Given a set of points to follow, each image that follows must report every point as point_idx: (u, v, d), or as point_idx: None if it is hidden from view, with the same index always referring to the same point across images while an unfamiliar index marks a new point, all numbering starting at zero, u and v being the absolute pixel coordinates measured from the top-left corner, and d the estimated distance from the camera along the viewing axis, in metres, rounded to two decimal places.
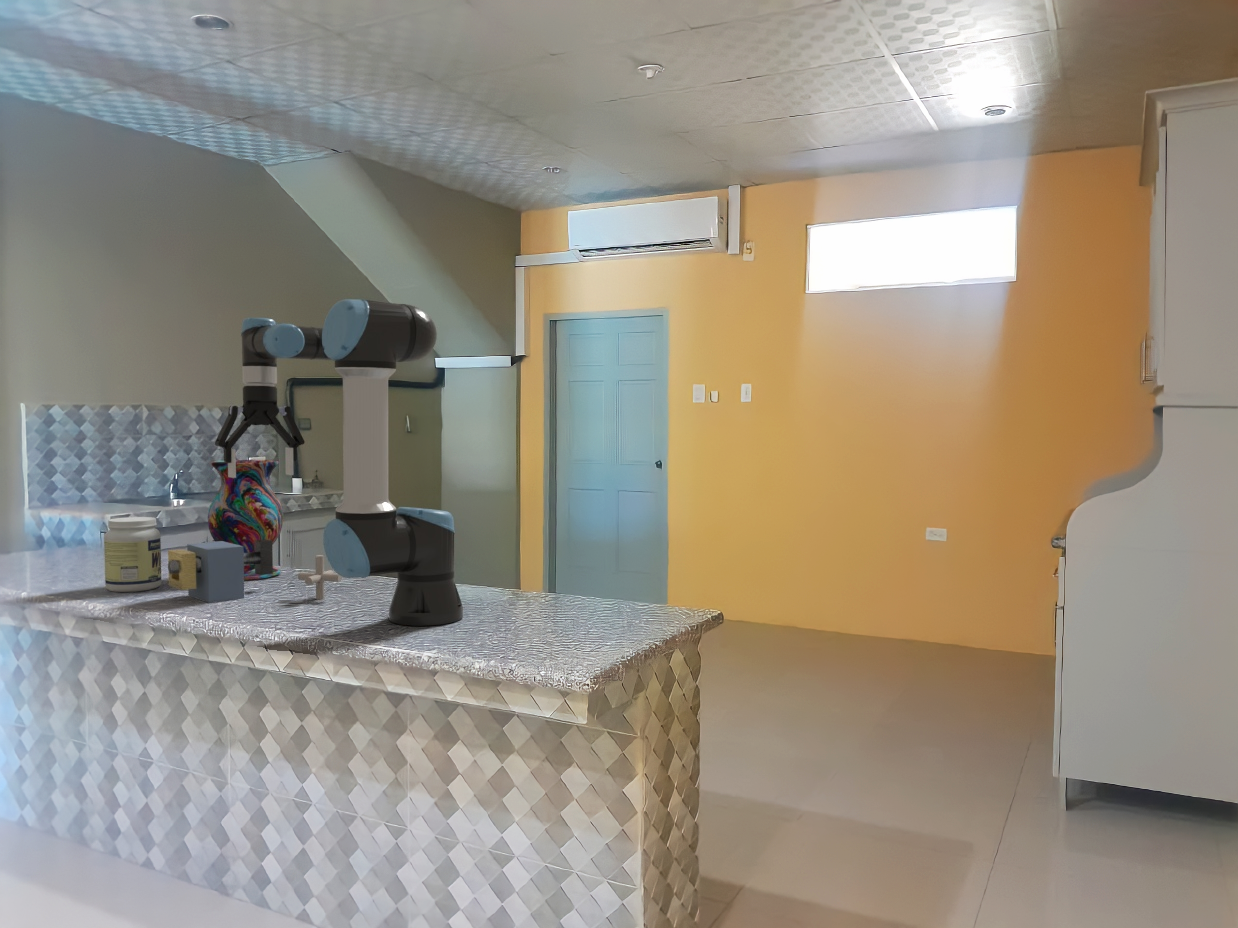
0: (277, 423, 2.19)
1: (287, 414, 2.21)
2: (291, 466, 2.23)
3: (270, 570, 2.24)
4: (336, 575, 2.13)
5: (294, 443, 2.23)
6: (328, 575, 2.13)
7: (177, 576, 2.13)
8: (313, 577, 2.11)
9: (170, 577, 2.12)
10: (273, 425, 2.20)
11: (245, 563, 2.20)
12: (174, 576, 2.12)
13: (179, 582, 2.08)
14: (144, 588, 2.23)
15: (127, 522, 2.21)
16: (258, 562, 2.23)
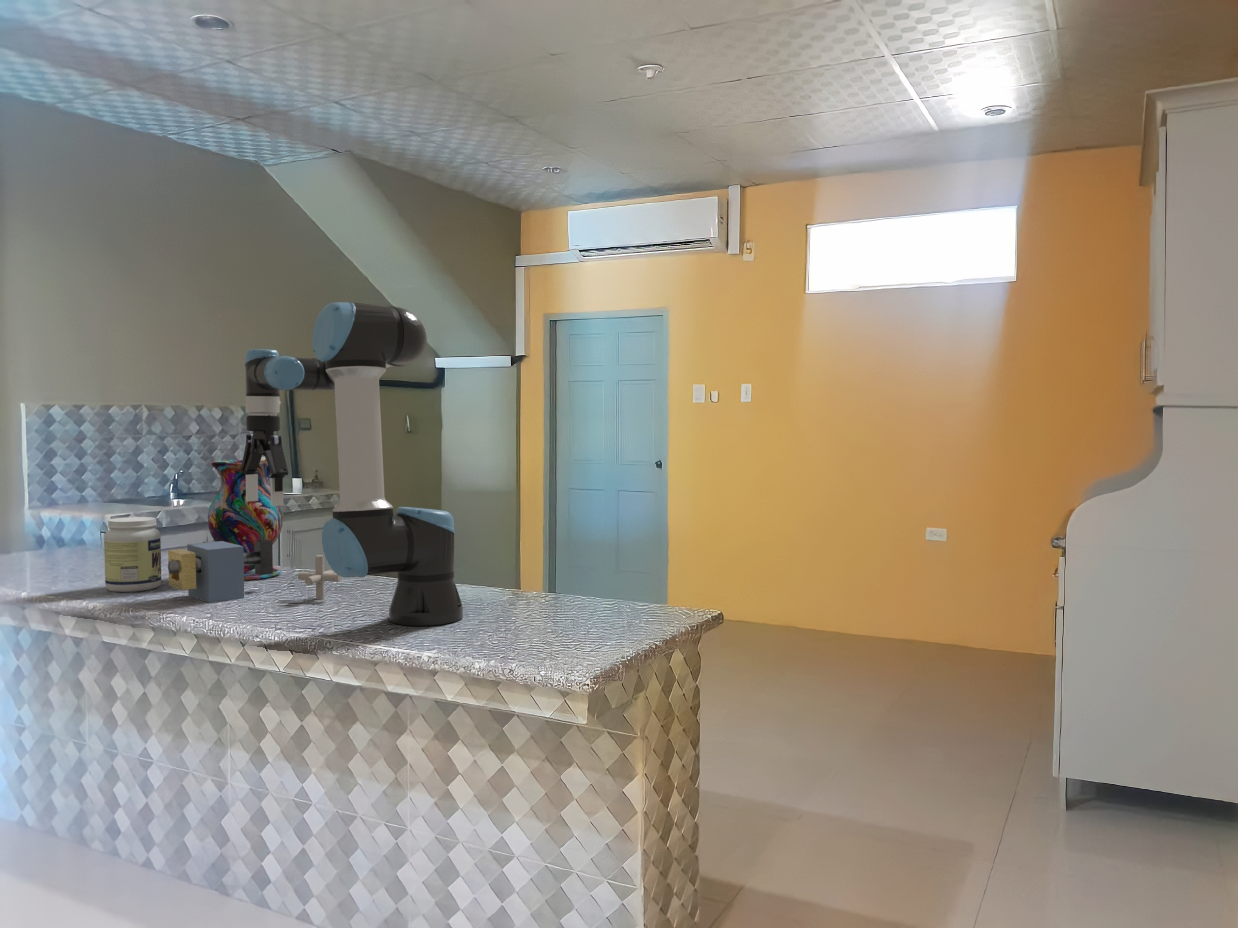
0: (262, 452, 2.20)
1: (270, 444, 2.18)
2: (271, 497, 2.18)
3: (270, 570, 2.24)
4: (336, 575, 2.13)
5: (273, 473, 2.17)
6: (328, 575, 2.13)
7: (177, 576, 2.13)
8: (313, 577, 2.11)
9: (170, 577, 2.12)
10: None
11: (245, 563, 2.20)
12: (174, 576, 2.12)
13: (179, 582, 2.08)
14: (144, 588, 2.23)
15: (127, 522, 2.21)
16: (258, 562, 2.23)
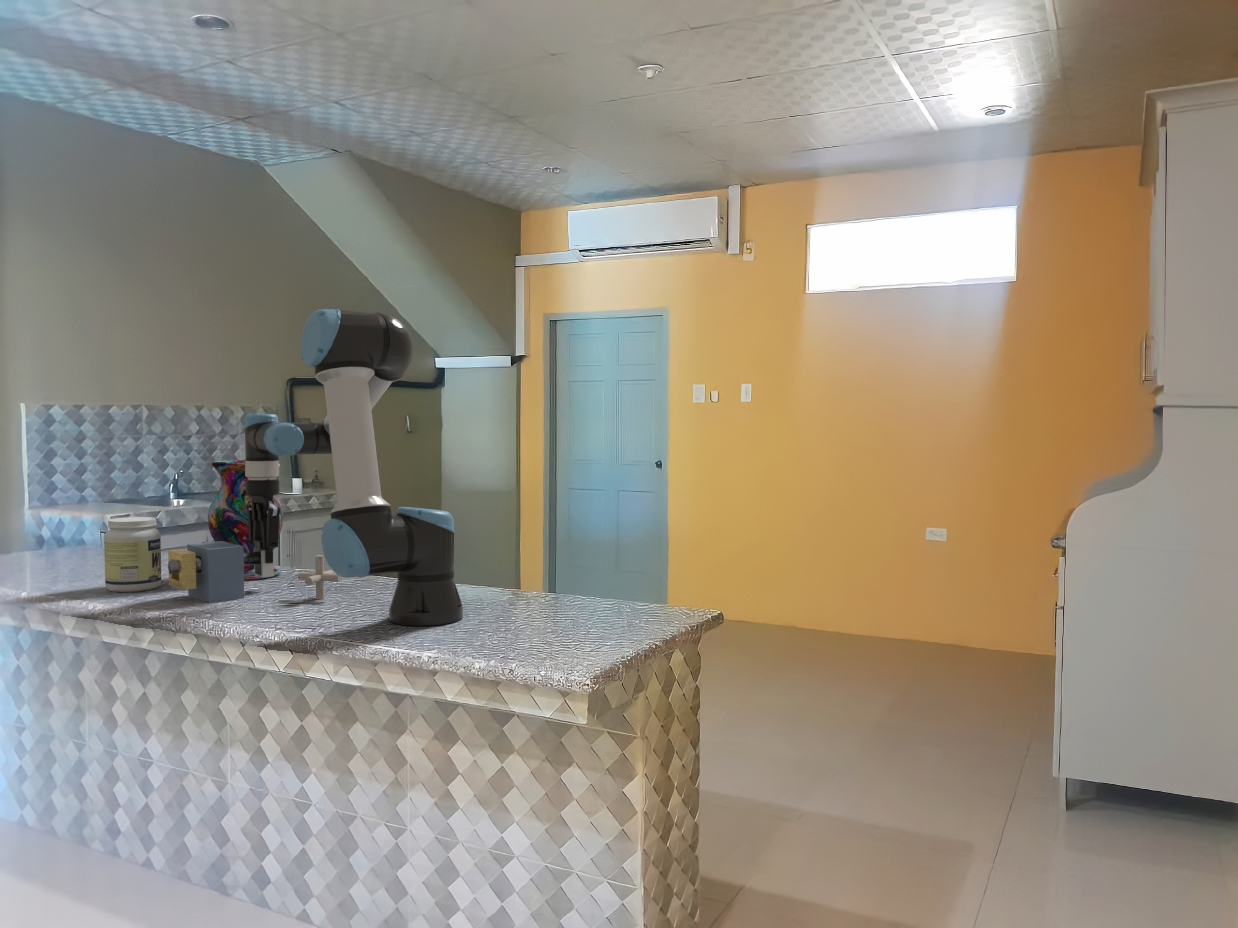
0: (259, 519, 2.22)
1: (267, 514, 2.20)
2: (261, 568, 2.23)
3: None
4: (336, 575, 2.13)
5: (263, 546, 2.22)
6: (328, 575, 2.13)
7: (177, 576, 2.13)
8: (313, 577, 2.11)
9: (170, 577, 2.12)
10: None
11: (245, 563, 2.20)
12: (174, 576, 2.12)
13: (179, 582, 2.08)
14: (144, 588, 2.23)
15: (127, 522, 2.21)
16: (258, 562, 2.23)
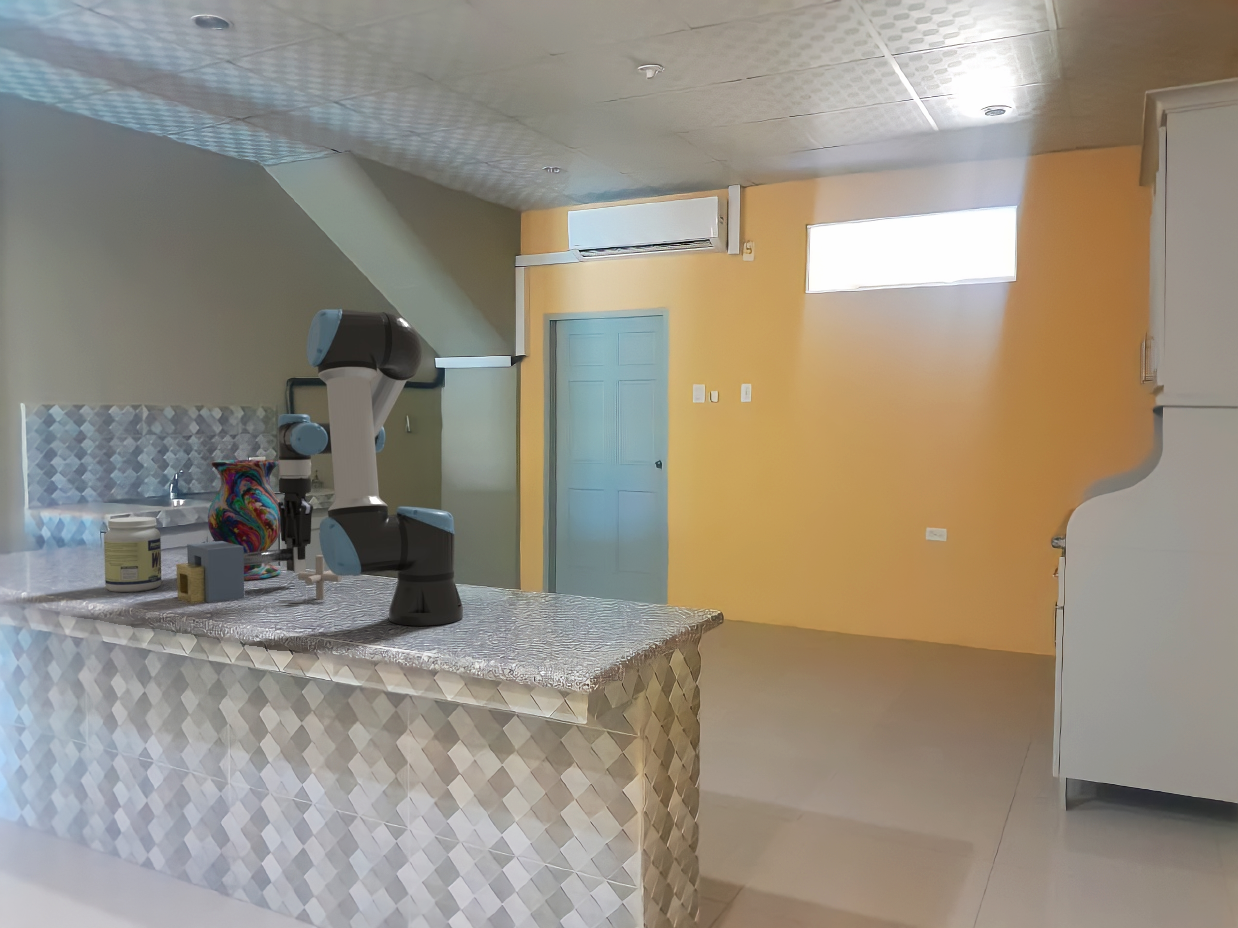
0: (292, 516, 2.27)
1: (300, 511, 2.25)
2: (294, 564, 2.28)
3: None
4: (336, 575, 2.13)
5: (296, 542, 2.27)
6: (328, 575, 2.13)
7: (186, 590, 2.14)
8: (313, 577, 2.11)
9: (179, 591, 2.14)
10: None
11: (278, 559, 2.26)
12: (183, 590, 2.14)
13: (188, 596, 2.10)
14: (144, 588, 2.23)
15: (127, 522, 2.21)
16: (290, 558, 2.28)
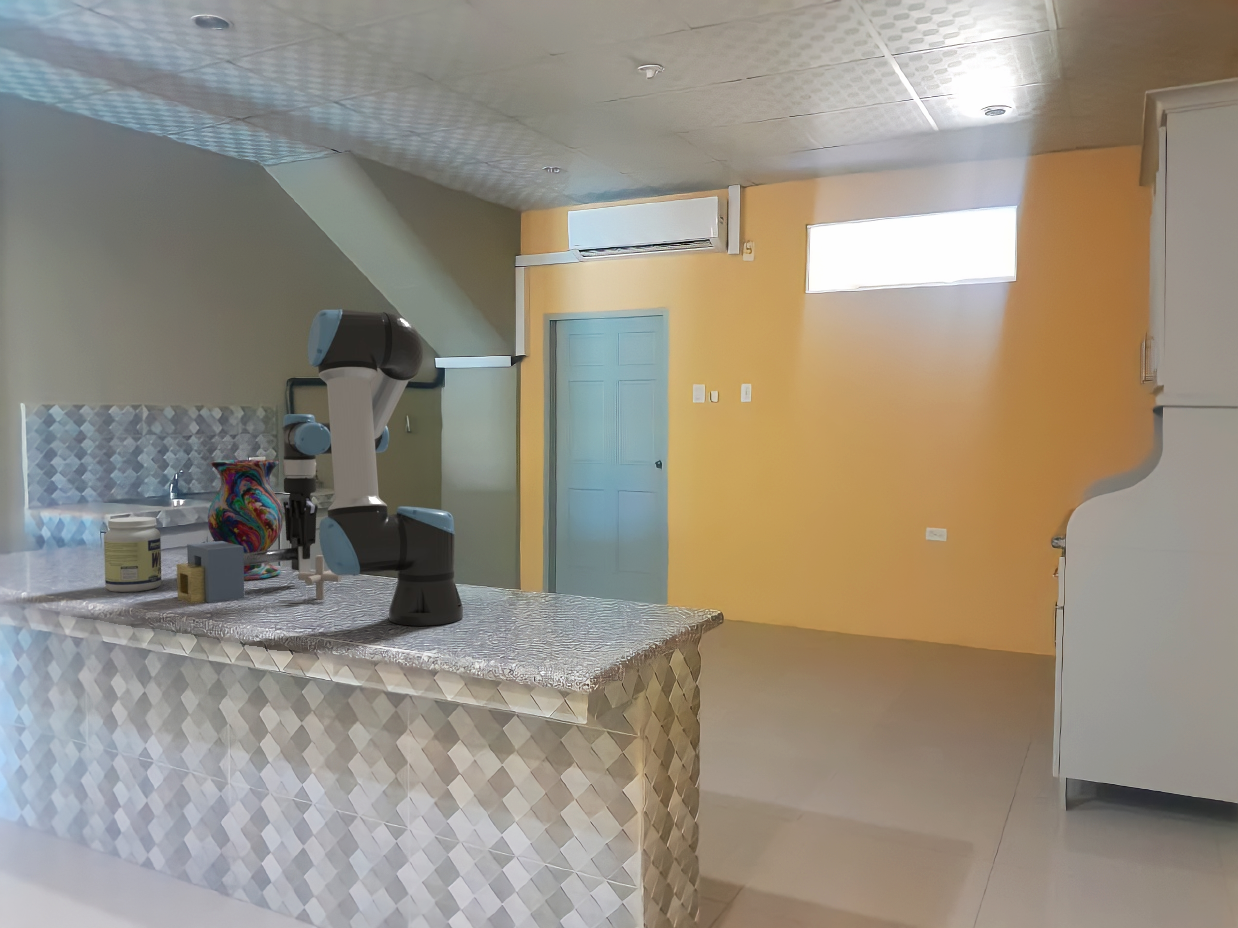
0: (297, 516, 2.28)
1: (305, 511, 2.26)
2: (299, 564, 2.29)
3: None
4: (336, 575, 2.13)
5: (301, 542, 2.28)
6: (328, 575, 2.13)
7: (186, 590, 2.14)
8: (313, 577, 2.11)
9: (179, 591, 2.14)
10: None
11: (283, 559, 2.27)
12: (183, 590, 2.14)
13: (188, 596, 2.10)
14: (144, 588, 2.23)
15: (127, 522, 2.21)
16: (295, 558, 2.29)
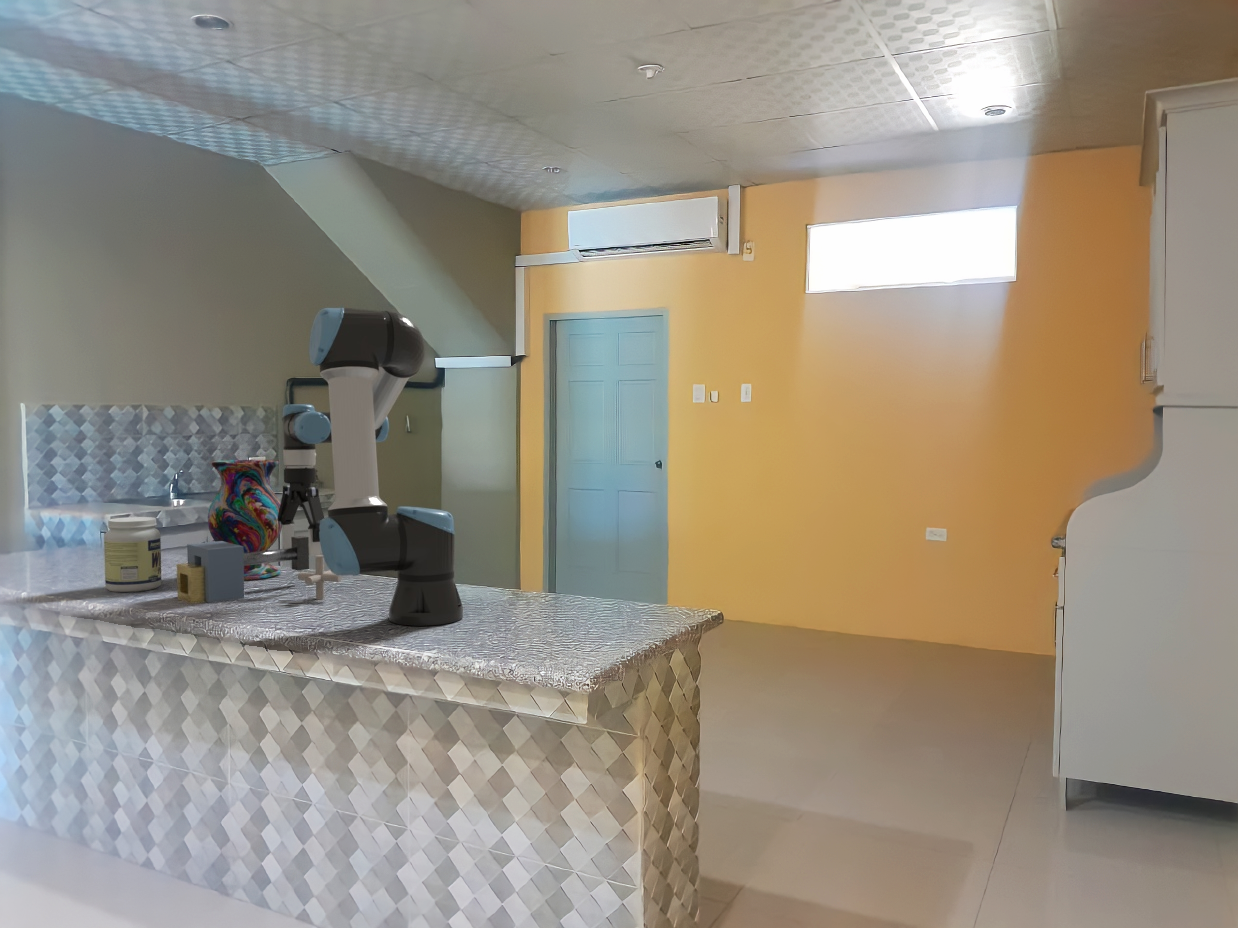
0: (300, 504, 2.27)
1: (307, 495, 2.25)
2: (309, 547, 2.25)
3: (306, 566, 2.31)
4: (336, 575, 2.13)
5: (311, 524, 2.24)
6: (328, 575, 2.13)
7: (186, 590, 2.14)
8: (313, 577, 2.11)
9: (179, 591, 2.14)
10: None
11: (283, 559, 2.27)
12: (183, 590, 2.14)
13: (188, 596, 2.10)
14: (144, 588, 2.23)
15: (127, 522, 2.21)
16: (295, 558, 2.29)
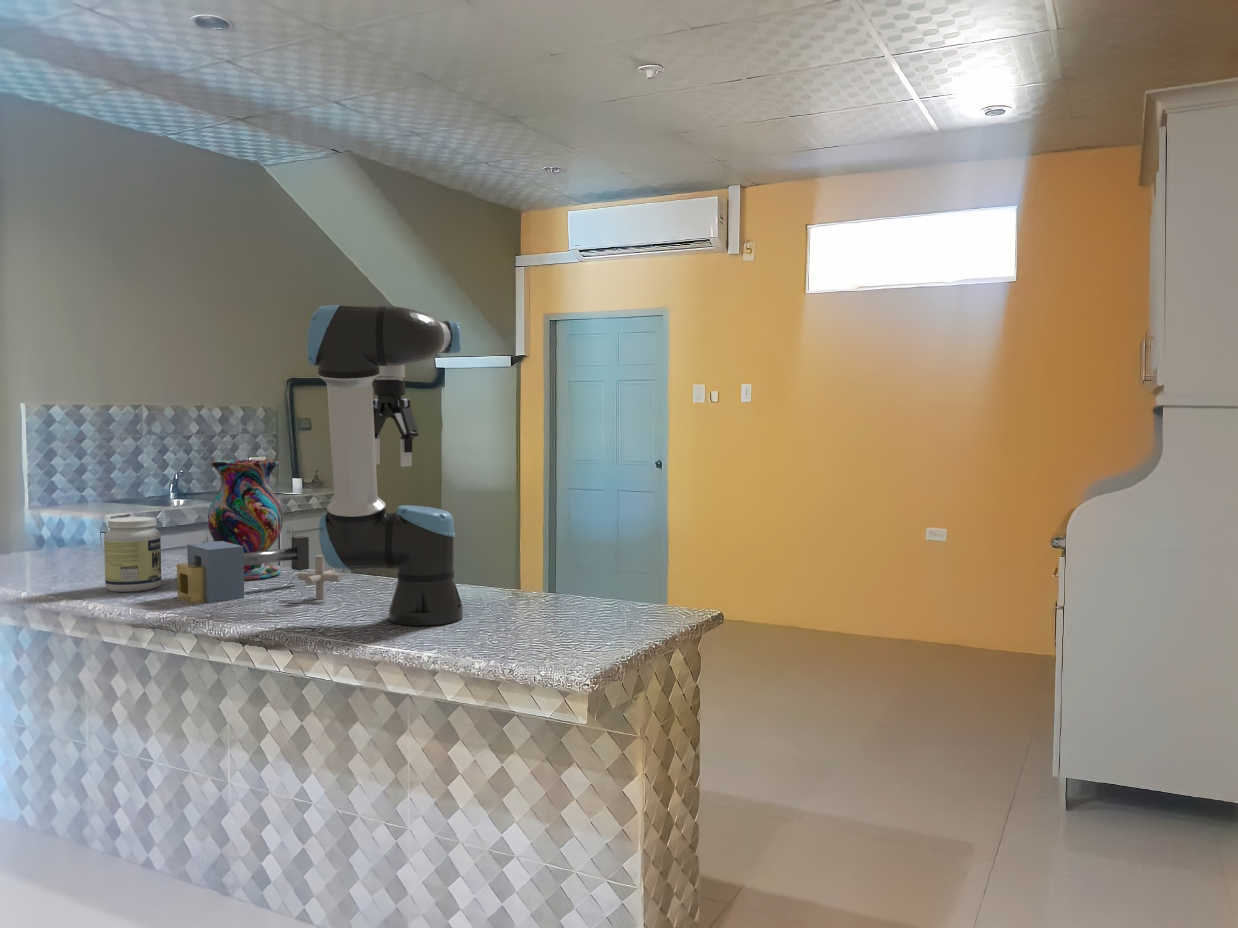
0: (391, 415, 2.28)
1: (399, 406, 2.26)
2: (401, 457, 2.26)
3: (306, 566, 2.31)
4: (336, 575, 2.13)
5: None
6: (328, 575, 2.13)
7: (186, 590, 2.14)
8: (313, 577, 2.11)
9: (179, 591, 2.14)
10: None
11: (283, 559, 2.27)
12: (183, 590, 2.14)
13: (188, 596, 2.10)
14: (144, 588, 2.23)
15: (127, 522, 2.21)
16: (295, 558, 2.29)
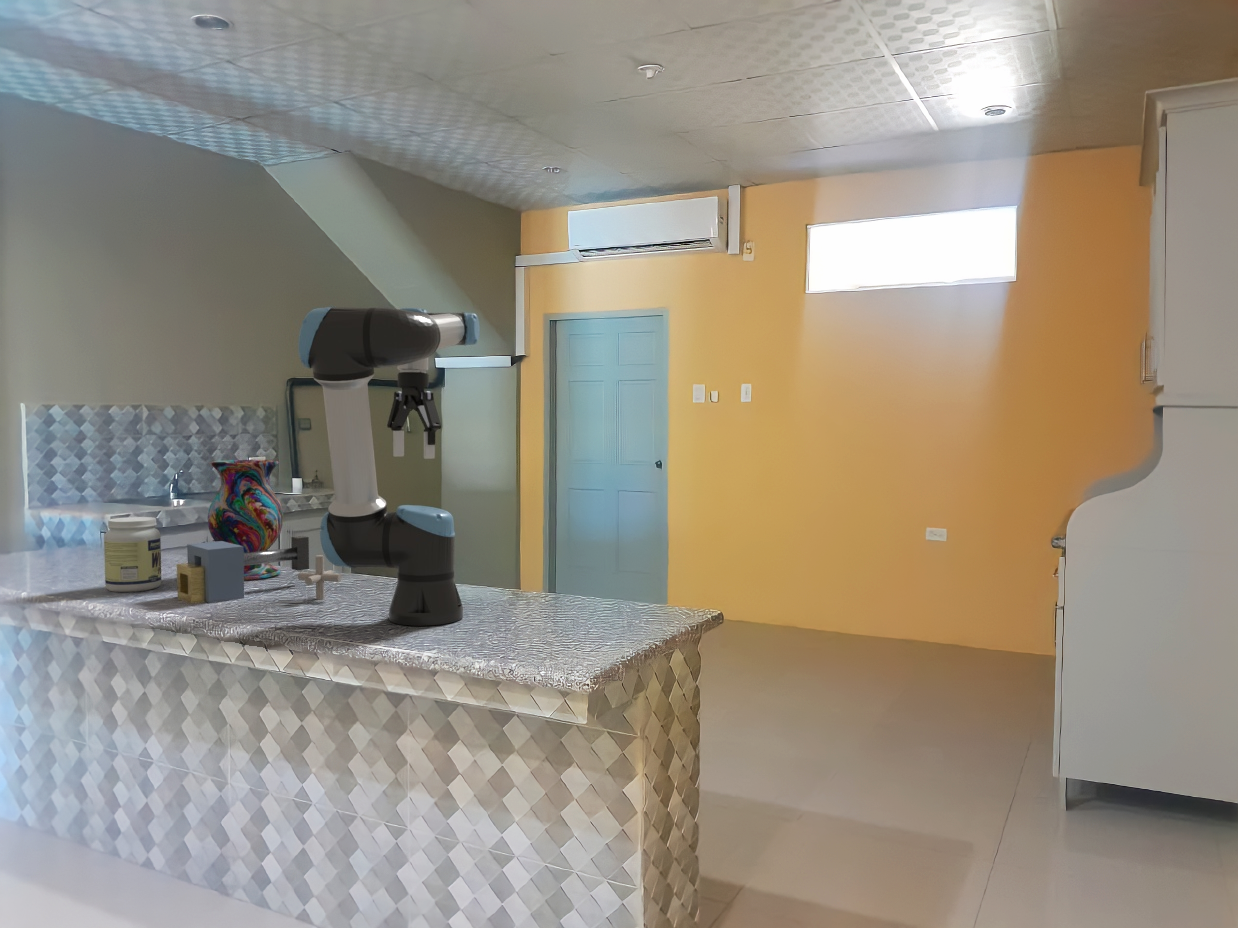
0: (415, 407, 2.28)
1: (423, 399, 2.27)
2: (424, 450, 2.27)
3: (306, 566, 2.31)
4: (336, 575, 2.13)
5: (426, 427, 2.26)
6: (328, 575, 2.13)
7: (186, 590, 2.14)
8: (313, 577, 2.11)
9: (179, 591, 2.14)
10: None
11: (283, 559, 2.27)
12: (183, 590, 2.14)
13: (188, 596, 2.10)
14: (144, 588, 2.23)
15: (127, 522, 2.21)
16: (295, 558, 2.29)
